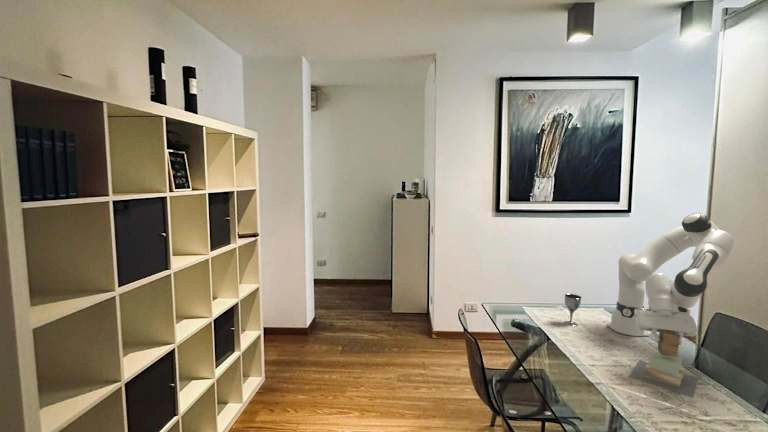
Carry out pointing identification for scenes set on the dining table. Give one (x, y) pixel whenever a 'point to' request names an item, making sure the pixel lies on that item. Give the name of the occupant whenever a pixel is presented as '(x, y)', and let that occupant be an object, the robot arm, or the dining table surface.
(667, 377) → the tower base
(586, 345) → the dining table surface
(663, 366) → the tower top
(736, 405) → the dining table surface
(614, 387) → the dining table surface
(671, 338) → the walnut block
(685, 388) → the mat
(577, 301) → the wine glass
